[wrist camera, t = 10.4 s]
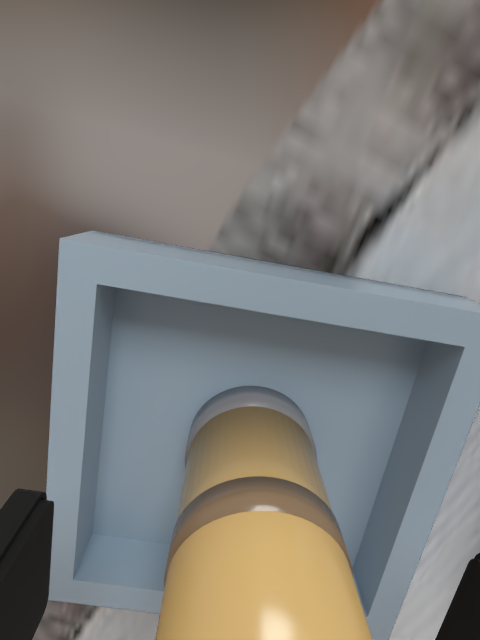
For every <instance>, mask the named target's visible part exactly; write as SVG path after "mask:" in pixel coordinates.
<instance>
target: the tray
mask: <svg viewBox="0 0 480 640" xmlns="http://www.w3.org/2000/svg"><path fill="white" fill-rule="evenodd" d="M59 242H60V243H59V262H58V279H57V299H56V317H55V336H54V355H53V375H52V393H51V412H50V432H49V450H48V469H47V488H46V495H47V500H49V501H53V502H54V517H53V534H52V550H51V567H50V584H49V597H48V600H52V601H61V602H69V603H77V604H85V605H93V606H101V607H110V608H118V609H126V610H134V611H142V612H150V613H159V614H160V611H161V605H162V599H163V594H164V575H165V569H166V564H167V559H168V553H169V548H170V542H171V537H172V533H173V529H174V526H175V524H176V521H177V515H178V510H179V504H180V498H181V493H182V487H183V482H184V476H185V470H186V469H185V452H186V447H187V442H188V437H189V431H190V427H191V424H192V421H193V419H194V417H195V415H196V414H197V412H198V411H199V409H200V408H201V407H202V406H203V405H204V404H205V403H206V402H207V401H208V400H209V399H211V398H212V397H214V396H215V395H217V394H219V393H221V392H223V391H225V390H228V389H231V388H235V387H241V386H261V387H266V388H270V389H273V390H276V391H278V392H280V393H282V394H284V395H285V396H287V397H288V398H290V399H291V400H292V401H293V402H294V403H296V404H297V406H298V407H299V408H300V409H301V410H302V412H303V414H304V415H305V417H306V420H307V422H308V425H309V428H310V431H311V434H312V437H313V440H314V443H315V447H316V452H317V464H318V467H319V470H320V473H321V476H322V480H323V483H324V486H325V489H326V492H327V496H328V499H329V502H330V505H331V508H332V512H333V514H334V515H335V517H336V519H337V522H338V524H339V527H340V530H341V533H342V536H343V540H344V543H345V546H346V549H347V552H348V555H349V558H350V562H351V565H352V569H353V579H354V582H355V585H356V589H357V592H358V595H359V598H360V602H361V605H362V608H363V611H364V614H365V618H366V621H367V624H368V627H369V630H370V634H371V637H372V640H389V637H390V635H391V632H392V629H393V627H394V624H395V622H396V619H397V616H398V614H399V611H400V609H401V606H402V604H403V601H404V598H405V596H406V593H407V591H408V588H409V586H410V583H411V580H412V578H413V575H414V573H415V570H416V567H417V565H418V562H419V560H420V557H421V555H422V552H423V549H424V547H425V544H426V542H427V539H428V536H429V534H430V531H431V529H432V526H433V524H434V521H435V518H436V516H437V513H438V511H439V508H440V505H441V503H442V500H443V498H444V495H445V493H446V490H447V487H448V485H449V482H450V480H451V477H452V475H453V472H454V469H455V467H456V464H457V462H458V459H459V456H460V454H461V451H462V449H463V446H464V444H465V441H466V438H467V436H468V433H469V431H470V428H471V425H472V423H473V420H474V418H475V415H476V413H477V410H478V407H479V405H480V304H479V303H476V302H474V301H472V300H470V299H467V298H465V297H462V296H457V295H451V294H445V293H440V292H434V291H429V290H423V289H417V288H412V287H406V286H401V285H395V284H389V283H384V282H378V281H373V280H367V279H362V278H356V277H350V276H345V275H339V274H334V273H328V272H322V271H317V270H311V269H306V268H300V267H294V266H289V265H283V264H278V263H272V262H266V261H261V260H255V259H250V258H244V257H238V256H233V255H227V254H222V253H216V252H211V251H205V250H199V249H194V248H188V247H183V246H177V245H171V244H166V243H160V242H155V241H149V240H143V239H137V238H132V237H127V236H121V235H115V234H110V233H104V232H99V231H89V232H85V233H80V234H76V235H72V236H67V237H63V238H60V241H59Z"/></svg>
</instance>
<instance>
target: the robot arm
mask: <svg viewBox="0 0 480 640" xmlns="http://www.w3.org/2000/svg"><path fill="white" fill-rule="evenodd" d="M53 517H54V502H53V501H49V500H47V495H46V493H45V492H38V491H31V490H25V489H17V490H15V491H14V493H13V494H12V495H11V496H10V498H9V499H8V500H7V502H6V503H5V504H4V506H3V507H2V508H1V510H0V640H32V638H33V636H34V634H35V632H36V629H37V627H38V625H39V623H40V621H41V619H42V616H43V614H44V611H45V608H46V605H47V602H48V597H49V584H50V567H51V550H52V534H53ZM435 640H480V553H479V554H477V555H476V557H475V558H474V559H472V560H470V561H469V563H468V565H467V568H466V570H465V572H464V575H463V577H462V579H461V582H460V584H459V586H458V588H457V591H456V593H455V595H454V598H453V600H452V602H451V605H450V607H449V609H448V612H447V614H446V616H445V619H444V621H443V623H442V626H441V628H440V630H439V632H438V635H437V637H436V639H435Z"/></svg>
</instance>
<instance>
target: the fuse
mask: <svg viewBox="0 0 480 640" xmlns="http://www.w3.org/2000/svg"><path fill="white" fill-rule="evenodd" d="M185 469H186V470H185V476H184V482H183V487H182V493H181V498H180V504H179V510H178V515H177V521H176V524H175V526H174V529H173V533H172V537H171V542H170V548H169V553H168V559H167V564H166V569H165V575H164V594H163V599H162V605H161V611H160V616H159V622H158V628H157V633H156V639H155V640H372V637H371V634H370V630H369V627H368V624H367V621H366V618H365V614H364V611H363V608H362V605H361V602H360V598H359V595H358V592H357V589H356V585H355V582H354V579H353V569H352V565H351V562H350V558H349V555H348V552H347V549H346V546H345V543H344V540H343V536H342V533H341V530H340V527H339V524H338V522H337V519H336V517H335V515H334V514H333V512H332V508H331V505H330V502H329V499H328V496H327V492H326V489H325V486H324V483H323V480H322V476H321V473H320V470H319V467H318V464H317V452H316V447H315V443H314V440H313V437H312V434H311V431H310V428H309V425H308V422H307V420H306V417H305V415H304V414H303V412H302V410H301V409H300V408H299V407H298V406H297V404H296V403H294V402H293V401H292V400H291V399H290V398H288V397H287V396H285V395H284V394H282V393H280V392H278V391H276V390H273V389H270V388H266V387H261V386H241V387H235V388H231V389H228V390H225V391H223V392H221V393H219V394H217V395H215V396H214V397H212V398H211V399H209V400H208V401H207V402H206V403H205V404H204V405H203V406H202V407H201V408H200V409H199V411H198V412H197V414H196V415H195V417H194V419H193V421H192V424H191V427H190V431H189V437H188V442H187V447H186V452H185Z"/></svg>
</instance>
